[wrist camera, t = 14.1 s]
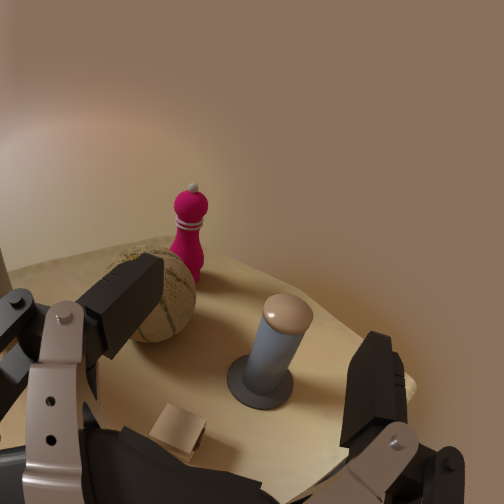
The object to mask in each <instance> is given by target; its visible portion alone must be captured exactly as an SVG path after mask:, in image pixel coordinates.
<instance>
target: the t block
mask: <svg viewBox="0 0 504 504" xmlns="http://www.w3.org/2000/svg"><path fill="white" fill-rule="evenodd" d="M205 425H206V419H204V418H202V417H199V416H197V415H194V414H192V413H190V412H187V411H185V410H183V409H181V408H179V407H176V406H174V405H172V404H170V403H167V404H166V406H165V408H164V409H163V411H162V413H161V414H160V416H159V418H158V419H157V421H156V423H155V424H154V426H153V428H152V429H151V431H150V433H149V437H150V440H152V441H154V442H156V443H157V444H159V445H160V446H161V447H162V448H164V449H165V450H166V451H167V452H169V453H170V454H171V455H173V456H174V457H175V458H177V459H179V460H181V461H184V462H186V463H188V464H189V463H190V461H191V459H192V457H193V455H194V453H195V450H196V449H198V448H199V446H200V441H201V438H202V436H203V434H204V431H205Z"/></svg>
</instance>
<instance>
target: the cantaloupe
mask: <svg viewBox="0 0 504 504" xmlns="http://www.w3.org/2000/svg"><path fill="white" fill-rule="evenodd" d="M144 252H147V253H149V254H152V255H155V256H157V257H160V258H162V259H163V260H164V290H163V295H162V298H161V300H160V302H159V304H158V305H157V306H156V307H155V308H154V310H153V311H152V312H151V313H150V314H149V316H148V317H147V318H146V319H145V320H144V321H143V323H142V324H141V325H140V326H139V327H138V329H137V330H136V331H135V332H134V333H133V335H132V336H131V337H130V339H131V340H135V341H138V342H144V343H149V342H160V341H163V340H166V339H169V338H170V337H172V336H173V335H176V334H178V333H179V332H180V331H181V330H182V329H183V328H184V327H186V325H187V324H188V322H189V320H190V319H191V317H192V314H193V311H194V308H195V303H196V286H195V281H194V279H193V276H192V274H191V272H190V271H189V269H188V268H187V267H186V265H185V264H184V263H183V261H182V260H181V258H179V256H177V255H176V254H175V253H173V252H172V251H170V250H168V249H167V248H164V247H160V246H153V245H140V246H136V247H131V248H129V249H127V250H126V251H124V252H122V253H121V254H119V255H118V256H116V257H115V258H114V259H113V260H112V261H111V262H110V263H109V266H108V267H107V270H106V271H105V273H104V276H105V275H106V274H109V272H110V271H111V270H112V269H113V268H115V267H116V266H117V265H118V264H121V263H123V262H126V261H128V260H132V261H134V260H135V259H137V258H138V257H139V256H140V255H141V254H143V253H144ZM104 276H103V277H104Z"/></svg>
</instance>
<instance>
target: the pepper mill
mask: <svg viewBox="0 0 504 504" xmlns="http://www.w3.org/2000/svg"><path fill="white" fill-rule="evenodd" d="M174 209H175V212H176V213H177V216H176V225H177V235H176V238H175V240H174V242H173V244H172V246H171V247H170V249H169V250H170V251H172V252H173V253H175V254H176V255H177V256H179V258H181V260H182V261H183V263H184V264H185V265H186V267H187V268H188V269H189V271H190V272H191V274H192V276H193V279H194V281H195V284H196V283H197V282H198V281H199V276H200V269H201V268H202V266H203V263H204V255H203V250H202V247H201V245H200V241H199V230H200V228H201V227H202V226H203V223H202V222H203V216H204V215H205V214H206V212H207V210H208V201H207V199H206V197H205V196H204V195H203V194H202V193H200V192H198V185H197V184H195V183H192V184H190V185H189V186H188V190H187V191H184V192H182V193H180V194H179V195H178V196H177V197H176V199H175V202H174Z"/></svg>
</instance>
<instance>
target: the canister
mask: <svg viewBox="0 0 504 504" xmlns="http://www.w3.org/2000/svg"><path fill="white" fill-rule="evenodd" d="M312 320H313V312H312V310H311V308H310V307H309V305H308V304H307V303H306V302H304V301H303V300H302V299H300V298H298V297H296V296H293V295H289V294H276V295H273V296H271V297H269V298H268V299H267V300H266V302H265V305H264V308H263V316H262V319H261V322H260V325H259V328H258V331H257V334H256V337H255V341H254V344H253V347H252V350H251V353H250V356H249V359H248V362H247V365H246V368H245V371H244V374H243V383H244V385H245V387H246V388H247V389H248V390H249V391H250V392H252V393H254V394H257V395H269V394H271V393H273V392H274V391H276V389H277V388H278V386H279V384H280V382H281V380H282V378H283V376H284V374H285V372H286V370H287V369H288V367H289V365H290V363H291V361H292V359H293V357H294V355H295V353H296V351H297V349H298V346H299V344H300V342H301V340H302V338H303V336H304V334H305V332H306V330H307V329H308V328H309V326H310V324H311V322H312Z"/></svg>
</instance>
